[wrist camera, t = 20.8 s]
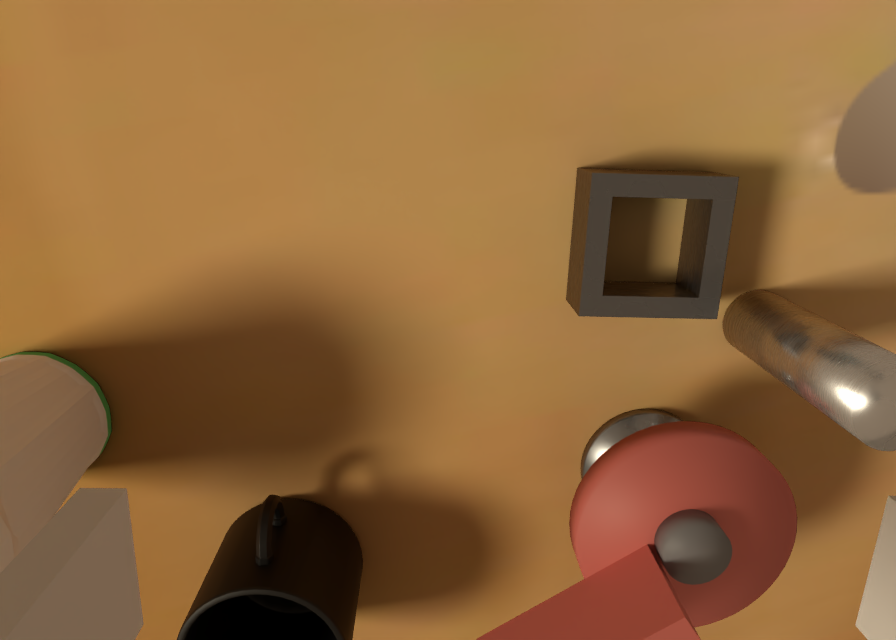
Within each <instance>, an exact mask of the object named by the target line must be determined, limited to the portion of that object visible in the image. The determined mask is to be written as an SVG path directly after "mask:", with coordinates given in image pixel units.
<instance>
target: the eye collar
mask: <svg viewBox="0 0 896 640" xmlns="http://www.w3.org/2000/svg"><path fill="white" fill-rule="evenodd" d="M738 180H739V177H736V176H731V175H725V174H720V173H714V172H695V171H662V170H628V169H594V168H577V178H576V190H575V202H574V213H573V225H572V237H571V248H570V260H569V272H568V284H567V295H566V300H567V302H568V303H569V304H570V305H571V307H572V308H573V309H574V310H575V312H576V313H577V314H578V316H596V317H644V318H693V319H717V316H718V309H719V303H720V296H721V290H722V283H723V277H724V270H725V264H726V257H727V251H728V244H729V238H730V232H731V225H732V219H733V212H734V206H735V199H736V193H737V186H738ZM612 197H644V198H679V199H687V205H686V212H685V220H684V227H683V235H682V242H681V249H680V257H679V264H678V272H677V279H676V283H658V282H614V281H604V276H605V266H606V256H607V246H608V236H609V226H610V217H611V207H612Z"/></svg>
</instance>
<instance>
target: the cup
mask: <svg viewBox="0 0 896 640" xmlns="http://www.w3.org/2000/svg"><path fill="white" fill-rule="evenodd" d="M111 432H112V430H111V416H110V408H109V405H108V403H107V401H106V398H105V396H104V394H103V392H102V391H101V389H100V387H99V385H98V383H96V382H95V381H94V380H93V379H92V378H91V377H90V376H89V375H88V374H87V373H86V372H84V371H83V370H82V369H81V368H79V367H78V366H77V365H75V364H73V363H71V362H69V361H67V360H65V359H63V358H61V357H58V356H56V355H53V354H51V353H42V352H20V353H16V354H12V355H8V356H5V357H2V358H0V573H1V572H2V571H3V570H4V569H5V568H6V567H7V566H8V565H9V563H10V562H11V561H12V560H13V559H14V558H15V557H16V556H17V555H18V554H19V553H20V552H21V551H22V550H23V548H24V547H25V546H26V545H27V544H28V543H29V542H30V541H31V540H32V539H33V538H34V537H35V536H36V535H37V534H38V532H39V531H40V530H41V529H42V528H43V527H44V526H45V525H46V524H47V523H48V522H49V521H50V520H51V519H52V517H53V516H54V515H55V514H56V512H57V511H58V509H59V508H60V507H61V505H62V504H63V502H64V501H65V499H66V498H67V497H68V495H69V494H70V492H71V491H72V490H73V488H74V487H75V485H76V484H77V482H78V481H79V480H80V478H81V477H82V475H83V474H84V473H85V471H86V470H87V468H88V467H89V466H90V465H91V464H92V463H93V462H94V461H95V460H96V459H97V458H98V457H99V455H100V454H101V453H102V452H103V450H104V448H105V446H106V444H107V442H108V439H109V437H110V434H111Z"/></svg>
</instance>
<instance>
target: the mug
mask: <svg viewBox="0 0 896 640" xmlns="http://www.w3.org/2000/svg"><path fill="white" fill-rule="evenodd" d="M362 564H363V558H362V552H361V548H360V545H359V542H358V540H357V538H356V536H355V534H354V532H353V531H352V529H351V528H350V527H349V525H348V524H347V523H346V522H345V521H344V520H343V519H342V518H341V517H340V516H339V515H337V514H336V513H334V512H333V511H332V510H330V509H328V508H326V507H324V506H322V505H320V504H317V503H314V502H311V501H306V500H301V499H280V497H279V496H277V495H269V496H268V497H267V498H266V500H265V501H264V502H263V504H260V505H258V506H256V507H254V508H252V509H250V510H249V511H247V512H245V513H244V514H243V515H241V516H240V517H239V518H238V519H237V520H236V521H235V522H234V523H233V524H232V525H231V527H230V528H229V530H228V532H227V533H226V535H225V537H224V540H223V542H222V544H221V546H220V548H219V550H218V552H217V554H216V556H215V558H214V560H213V563H212V565H211V567H210V569H209V571H208V573H207V575H206V577H205V579H204V581H203V583H202V585H201V588H200V590H199V592H198V594H197V596H196V598H195V600H194V602H193V604H192V606H191V608H190V611H189V613H188V615H187V617H186V619H185V621H184V623H183V625H182V627H181V629H180V632H179V635H178V638H177V640H352V638H353V631H354V624H355V616H356V609H357V602H358V595H359V588H360V581H361V573H362Z"/></svg>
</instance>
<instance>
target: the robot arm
mask: <svg viewBox="0 0 896 640" xmlns="http://www.w3.org/2000/svg"><path fill="white" fill-rule="evenodd" d="M142 626H143V617H142V609H141V601H140V592H139V584H138V576H137V568H136V560H135V552H134V544H133V536H132V528H131V519H130V511H129V503H128V495H127V489H123V488H80V489H79V490H78V491H77V492H76V493H75V494H74V495H73V496H72V497H71V498H70V499H69V500H68V501H67V503H66V504H65V505H64V506H63V507H62V508H61V509H60V510H59V511H58V512H57V513H56V514H55V515H54V516H53V517H52V519H51V520H50V521H49V522H48V523H47V524H46V525H45V526H44V527H43V528H42V529H41V530H40V531H39V532H38V534H37V535H36V536H35V537H34V538H33V539H32V540H31V541H30V542H29V543H28V544H27V545H26V546H25V547H24V548H23V550H22V551H21V552H20V553H19V554H18V555H17V556H16V557H15V558H14V559H13V560H12V561H11V562H10V563H9V565H8V566H7V567H6V568H5V569H4V570H3V571H2V572H1V573H0V640H135V638H136V637H137V635H138V633H139V631H140V629H141V628H142ZM856 626H857V628H858V629H859V630H860V631H861V632H862V634H863V635H864V636H865V637H866V638H867V639H868V640H896V496H888V499H887V503H886V507H885V510H884V514H883V518H882V522H881V526H880V530H879V534H878V538H877V542H876V546H875V550H874V554H873V558H872V562H871V566H870V570H869V574H868V578H867V582H866V586H865V589H864V593H863V597H862V601H861V605H860V609H859V613H858V617H857V621H856Z"/></svg>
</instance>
